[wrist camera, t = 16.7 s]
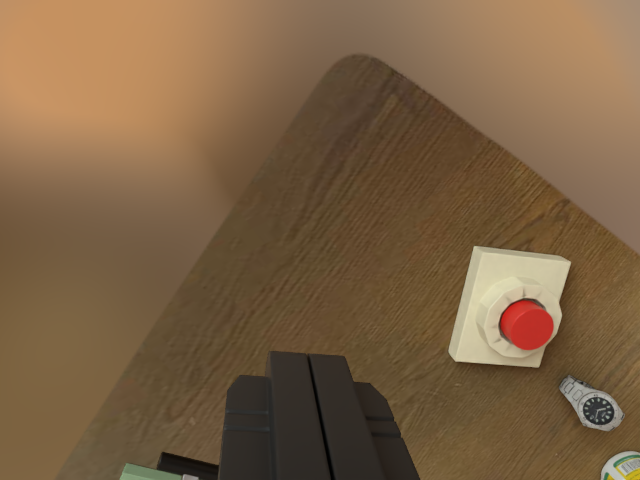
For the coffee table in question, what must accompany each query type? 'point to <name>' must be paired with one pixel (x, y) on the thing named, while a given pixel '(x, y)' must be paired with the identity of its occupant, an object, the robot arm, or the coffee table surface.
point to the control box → (504, 303)
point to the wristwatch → (592, 404)
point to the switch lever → (187, 467)
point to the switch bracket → (146, 474)
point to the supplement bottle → (622, 467)
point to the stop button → (527, 325)
